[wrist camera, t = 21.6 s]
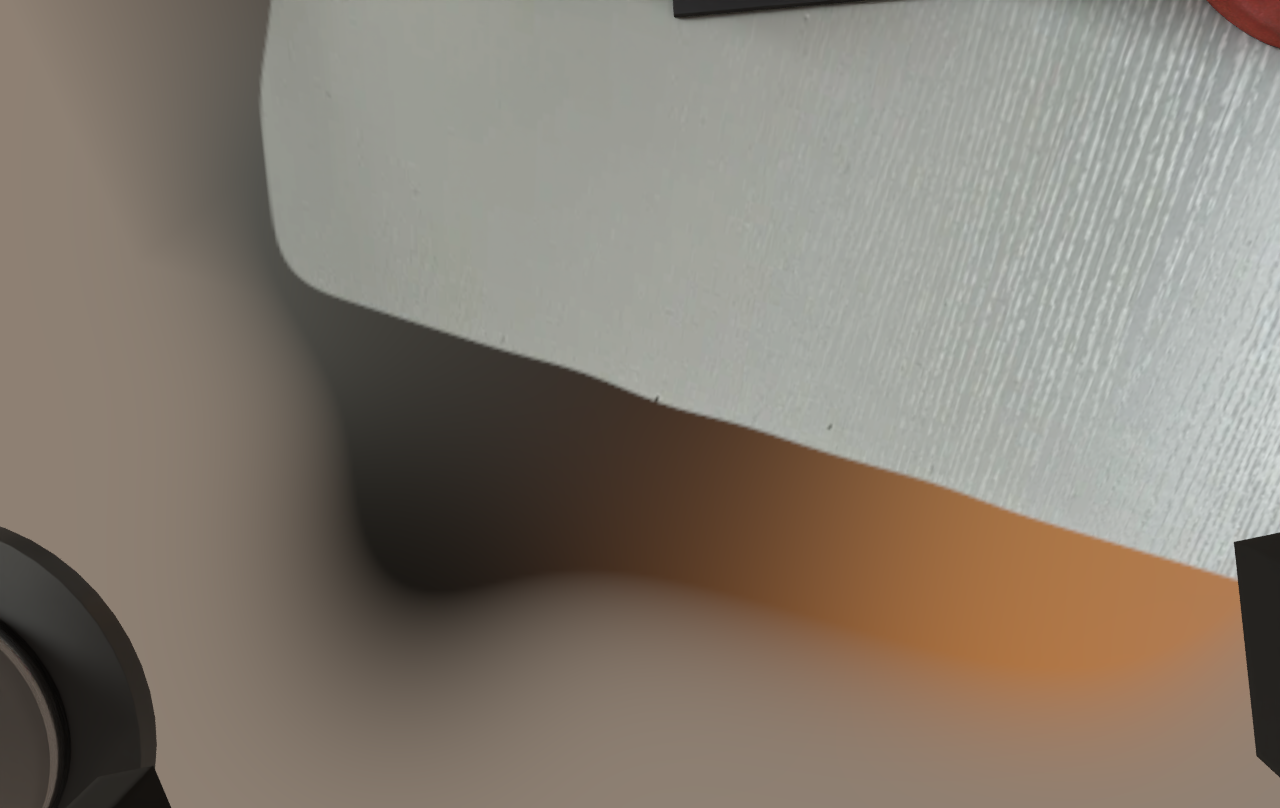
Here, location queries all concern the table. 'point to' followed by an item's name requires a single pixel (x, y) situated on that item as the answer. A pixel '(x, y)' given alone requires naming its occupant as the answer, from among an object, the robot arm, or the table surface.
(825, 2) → the desk pad
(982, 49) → the table surface
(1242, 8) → the stacking bear
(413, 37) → the table surface
